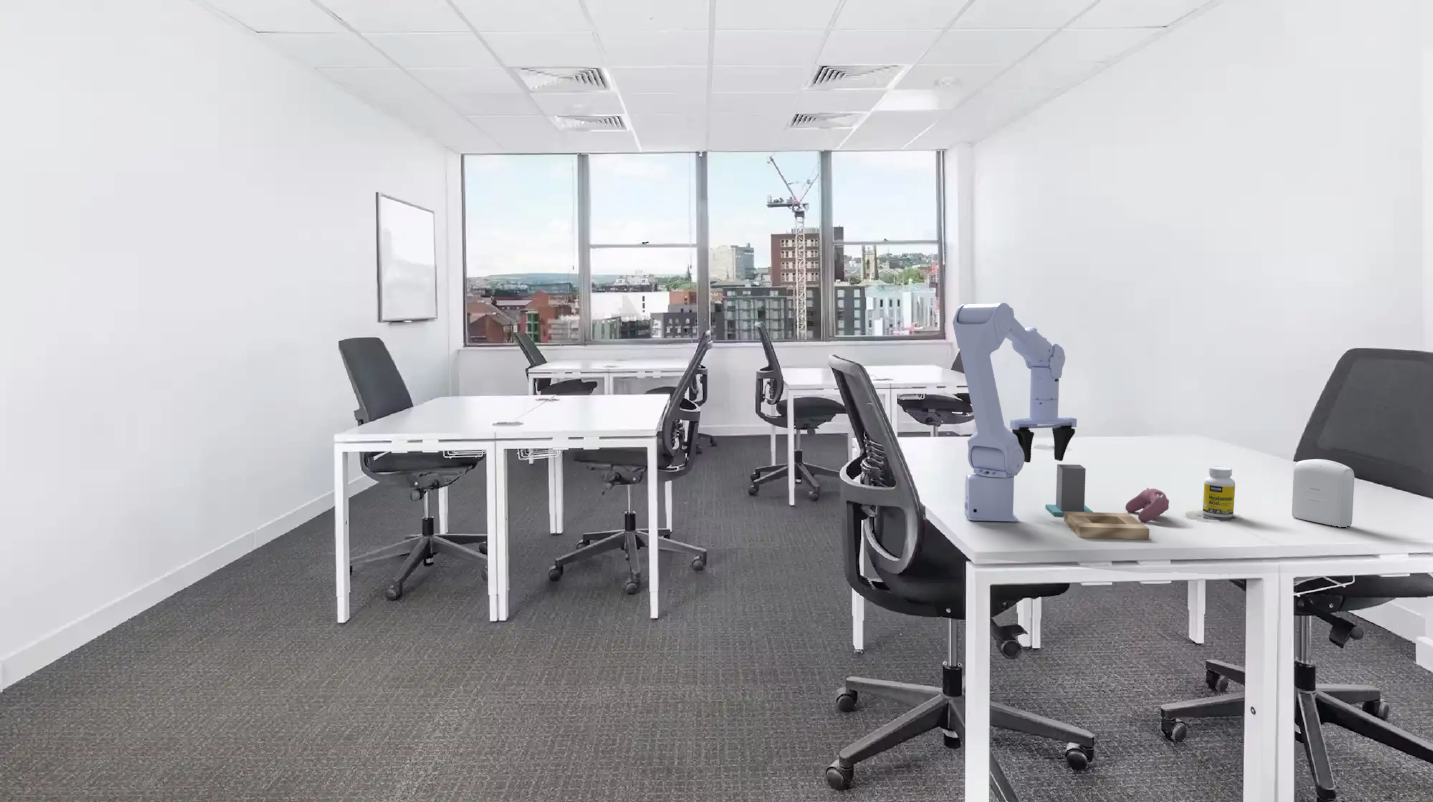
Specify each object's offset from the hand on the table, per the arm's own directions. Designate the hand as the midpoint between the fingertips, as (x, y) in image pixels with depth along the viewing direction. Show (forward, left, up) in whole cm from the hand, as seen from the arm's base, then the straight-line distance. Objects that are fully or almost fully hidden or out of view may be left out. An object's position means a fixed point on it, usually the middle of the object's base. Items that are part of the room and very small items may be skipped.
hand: (1042, 460), depth 180 cm
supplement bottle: (+33, -7, -10) cm, 35 cm away
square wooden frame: (+7, -22, -9) cm, 25 cm away
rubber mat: (+4, -8, -9) cm, 13 cm away
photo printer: (+50, -11, -10) cm, 52 cm away
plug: (+4, -8, -9) cm, 12 cm away
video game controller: (+18, -10, -10) cm, 23 cm away
